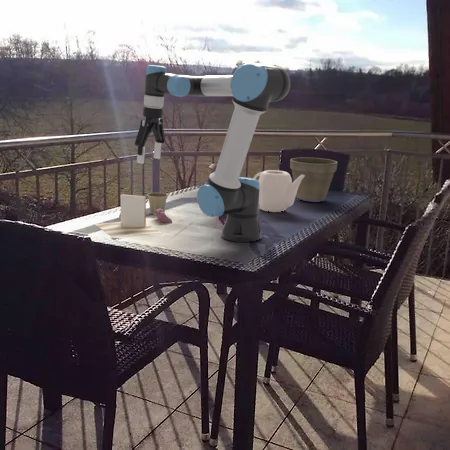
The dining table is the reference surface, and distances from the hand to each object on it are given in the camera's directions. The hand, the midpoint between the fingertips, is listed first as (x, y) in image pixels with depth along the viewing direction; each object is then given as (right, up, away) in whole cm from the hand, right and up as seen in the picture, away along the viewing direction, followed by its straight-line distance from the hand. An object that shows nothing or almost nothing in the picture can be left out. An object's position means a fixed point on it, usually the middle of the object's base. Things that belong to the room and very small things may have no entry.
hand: (148, 160), depth 204 cm
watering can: (+55, -19, +41) cm, 71 cm away
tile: (-6, -26, -1) cm, 26 cm away
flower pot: (0, -21, +25) cm, 33 cm away
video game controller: (+4, -25, +10) cm, 27 cm away
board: (-7, -28, -6) cm, 29 cm away
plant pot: (+77, -12, +72) cm, 106 cm away
